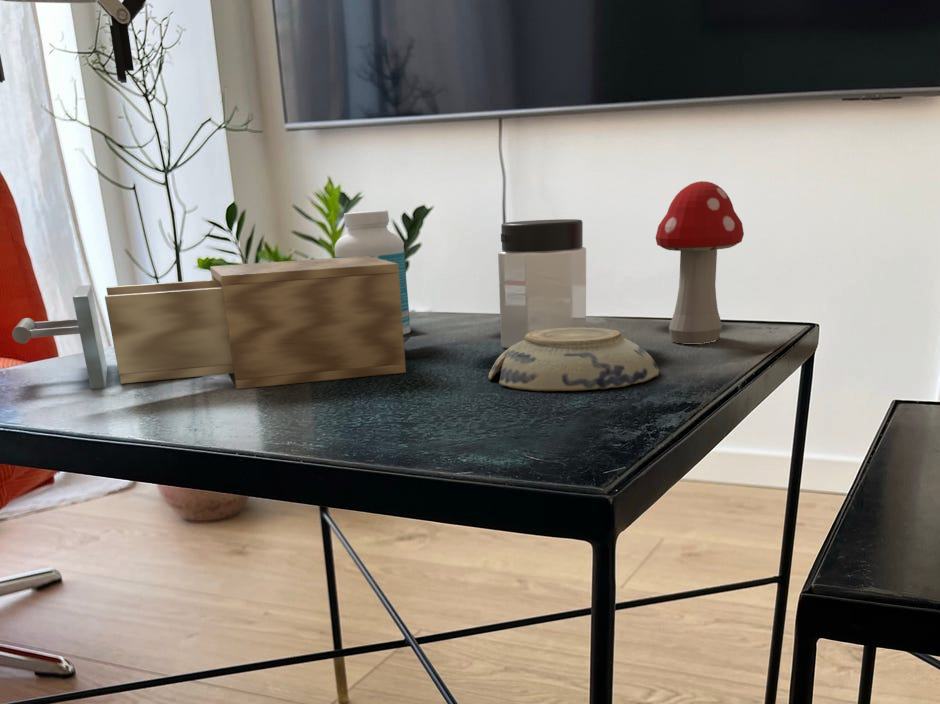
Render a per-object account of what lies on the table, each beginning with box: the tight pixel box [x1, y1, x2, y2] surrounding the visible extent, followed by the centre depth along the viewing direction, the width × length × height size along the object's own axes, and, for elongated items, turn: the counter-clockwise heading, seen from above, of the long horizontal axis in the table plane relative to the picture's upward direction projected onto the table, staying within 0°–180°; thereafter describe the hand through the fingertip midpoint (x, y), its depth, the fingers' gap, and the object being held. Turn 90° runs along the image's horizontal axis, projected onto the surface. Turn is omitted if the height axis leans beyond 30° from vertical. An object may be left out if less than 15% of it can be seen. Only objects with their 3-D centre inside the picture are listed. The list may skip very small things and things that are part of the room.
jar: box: [497, 218, 587, 350], centre depth 103 cm, size 9×8×12 cm
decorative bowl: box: [487, 326, 660, 393], centre depth 89 cm, size 15×4×15 cm
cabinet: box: [209, 256, 407, 390], centre depth 96 cm, size 16×13×10 cm
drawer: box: [11, 279, 234, 390], centre depth 92 cm, size 20×11×8 cm, turn 108°
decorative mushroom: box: [655, 180, 745, 344], centre depth 102 cm, size 10×9×15 cm
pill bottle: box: [334, 209, 411, 343], centre depth 110 cm, size 8×7×14 cm
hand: (61, 80), depth 84 cm, fingers open, 9 cm apart
